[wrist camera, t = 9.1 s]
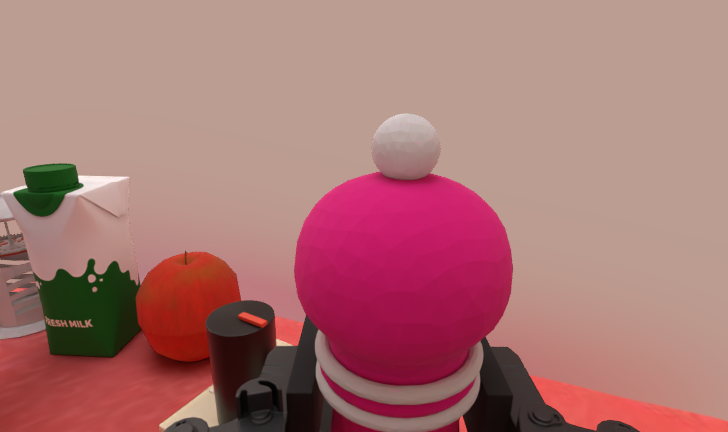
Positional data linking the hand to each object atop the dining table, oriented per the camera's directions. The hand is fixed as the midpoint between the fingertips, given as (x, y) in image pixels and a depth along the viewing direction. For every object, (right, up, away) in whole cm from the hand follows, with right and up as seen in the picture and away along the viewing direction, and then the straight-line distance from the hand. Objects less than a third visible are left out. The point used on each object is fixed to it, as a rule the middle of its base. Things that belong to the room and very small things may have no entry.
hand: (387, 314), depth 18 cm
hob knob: (-10, -11, +14) cm, 20 cm away
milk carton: (-31, -10, +29) cm, 43 cm away
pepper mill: (0, -12, -2) cm, 12 cm away
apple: (-19, -10, +27) cm, 34 cm away
